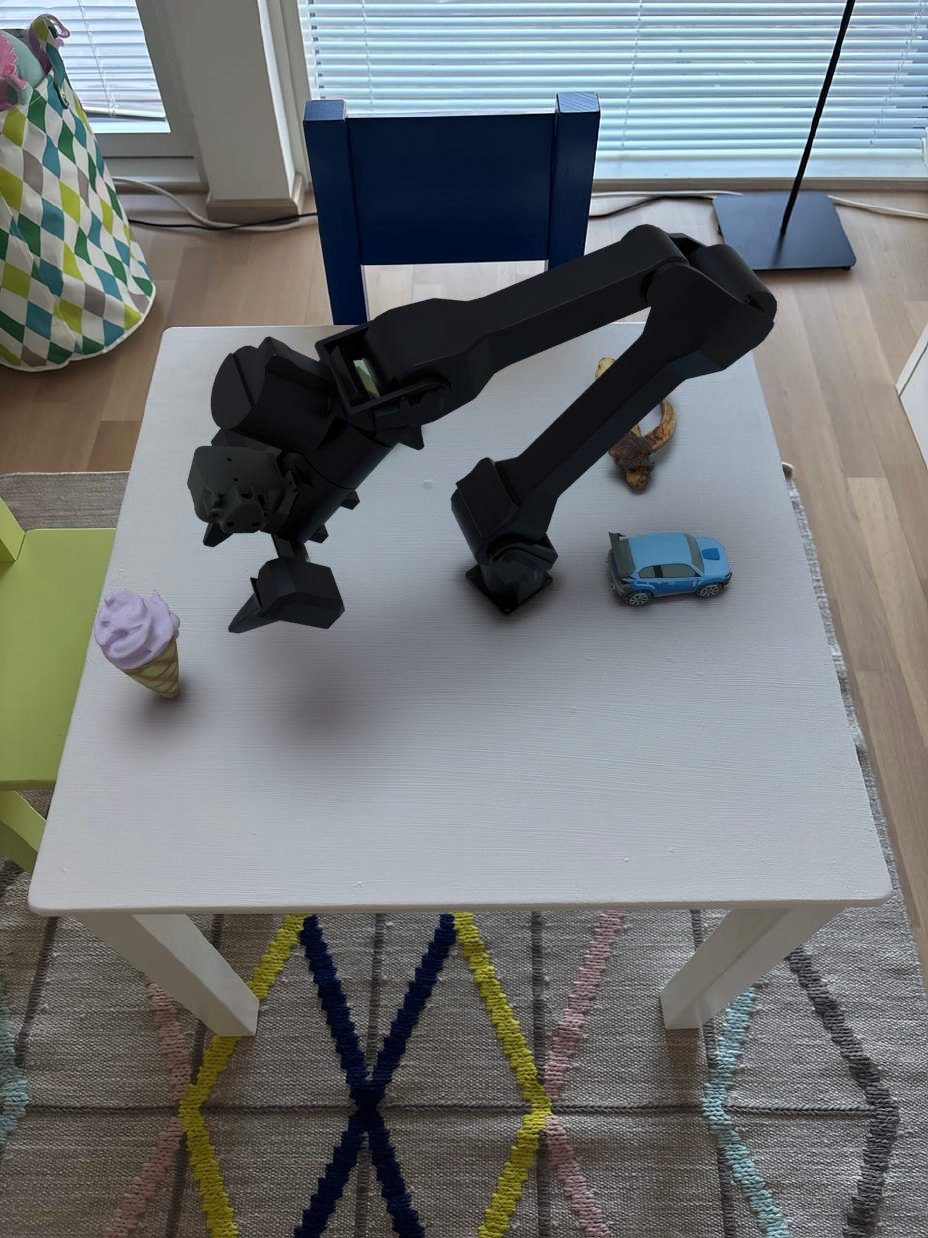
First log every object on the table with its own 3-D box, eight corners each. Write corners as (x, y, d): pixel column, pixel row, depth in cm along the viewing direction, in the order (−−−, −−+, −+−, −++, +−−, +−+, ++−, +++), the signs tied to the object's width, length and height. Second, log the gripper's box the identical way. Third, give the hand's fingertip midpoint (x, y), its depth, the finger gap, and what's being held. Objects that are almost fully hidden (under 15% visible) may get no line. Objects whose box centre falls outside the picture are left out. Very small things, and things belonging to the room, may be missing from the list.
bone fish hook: (693, 490, 98) (656, 369, 107) (705, 462, 94) (664, 338, 103) (608, 497, 97) (577, 375, 106) (616, 468, 93) (583, 343, 102)
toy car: (731, 597, 90) (745, 564, 85) (611, 609, 90) (619, 576, 85) (716, 549, 93) (729, 515, 88) (600, 560, 93) (607, 526, 88)
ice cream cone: (179, 647, 88) (129, 557, 75) (224, 684, 86) (180, 597, 73) (125, 696, 85) (63, 610, 72) (169, 734, 83) (114, 653, 70)
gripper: (208, 339, 67) (108, 480, 74) (273, 529, 58) (152, 668, 65) (326, 390, 75) (225, 512, 82) (400, 563, 66) (279, 684, 73)
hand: (220, 586), depth 76 cm, fingers open, 9 cm apart
